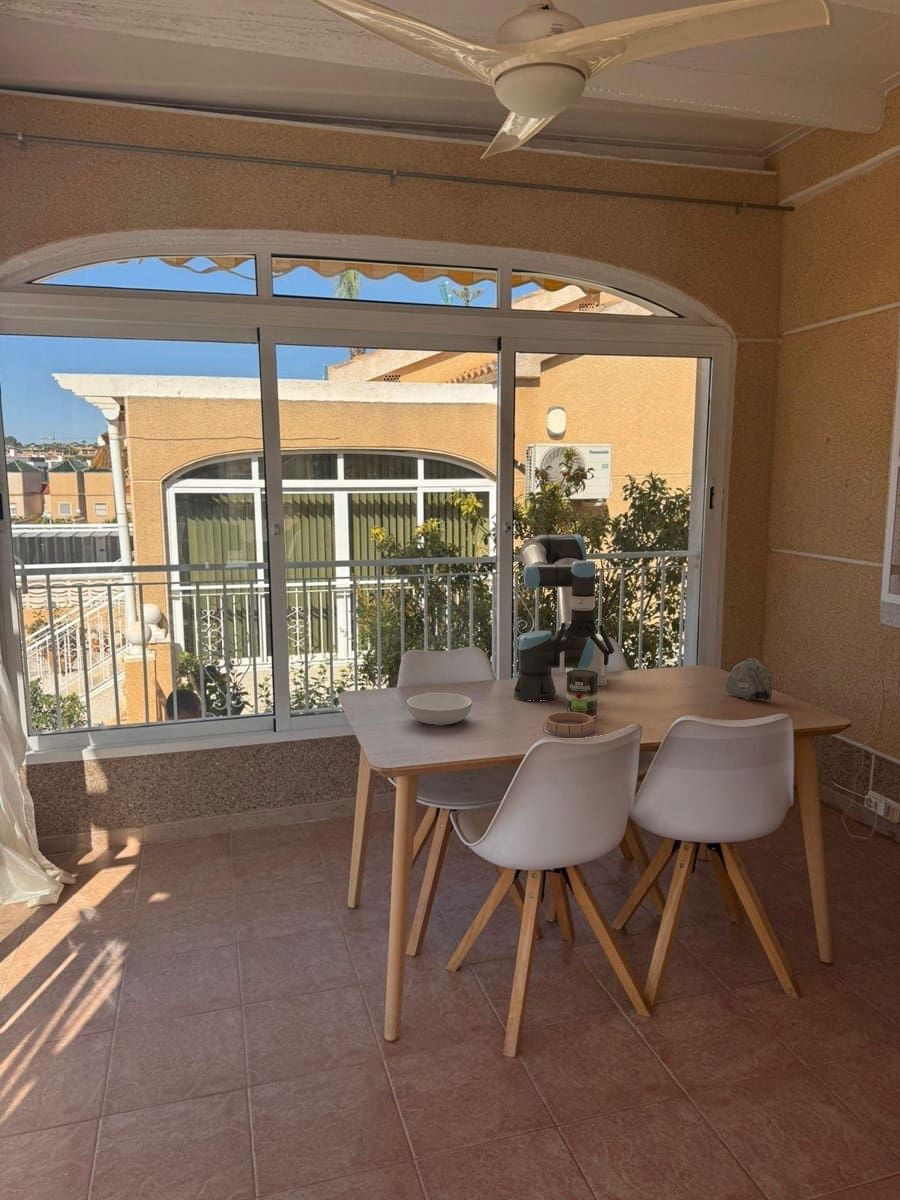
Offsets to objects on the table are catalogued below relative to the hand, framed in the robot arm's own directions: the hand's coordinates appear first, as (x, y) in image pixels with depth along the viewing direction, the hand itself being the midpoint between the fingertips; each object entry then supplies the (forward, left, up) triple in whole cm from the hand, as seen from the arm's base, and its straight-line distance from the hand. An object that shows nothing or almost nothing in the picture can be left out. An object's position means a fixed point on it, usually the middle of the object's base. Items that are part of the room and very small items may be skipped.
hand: (582, 673), depth 265 cm
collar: (0, -17, -14) cm, 22 cm away
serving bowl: (-41, -23, -14) cm, 49 cm away
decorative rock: (+50, +40, -14) cm, 65 cm away
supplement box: (-9, +45, -14) cm, 48 cm away
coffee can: (0, 0, -14) cm, 14 cm away
